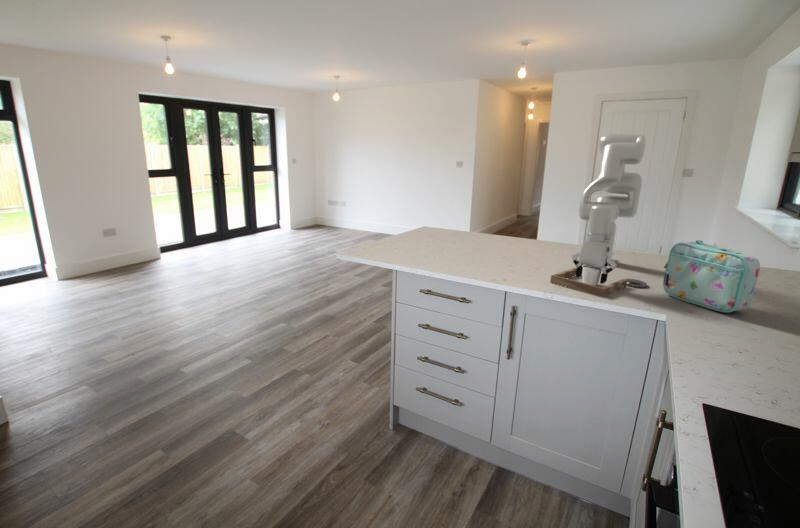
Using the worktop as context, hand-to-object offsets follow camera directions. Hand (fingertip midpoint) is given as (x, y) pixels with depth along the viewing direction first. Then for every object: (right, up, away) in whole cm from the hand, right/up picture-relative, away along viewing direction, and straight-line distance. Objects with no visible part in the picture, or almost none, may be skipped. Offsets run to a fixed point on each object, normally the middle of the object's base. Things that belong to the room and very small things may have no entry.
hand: (590, 279), depth 161 cm
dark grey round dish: (+18, -2, +1) cm, 18 cm away
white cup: (0, -2, +1) cm, 2 cm away
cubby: (-1, -2, 0) cm, 2 cm away
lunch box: (+30, -8, -18) cm, 36 cm away
